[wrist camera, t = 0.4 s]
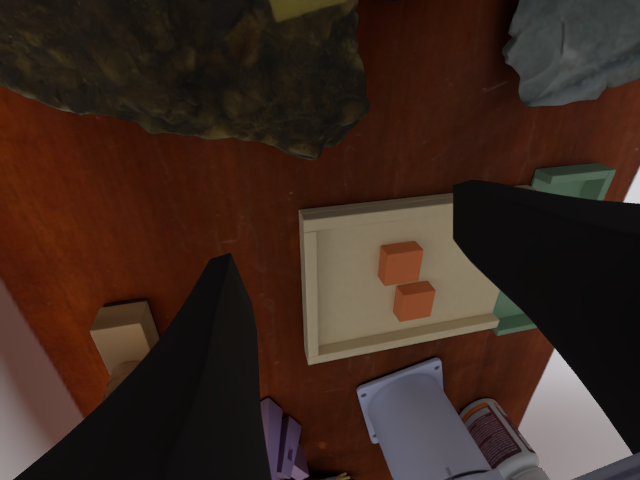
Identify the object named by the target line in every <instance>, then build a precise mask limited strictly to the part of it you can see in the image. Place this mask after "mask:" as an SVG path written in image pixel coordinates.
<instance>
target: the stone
mask: <svg viewBox="0 0 640 480" xmlns="http://www.w3.org/2000/svg"><path fill="white" fill-rule="evenodd" d="M508 34H510V35H511V36H512V38H511V39H510V40H509V41H508V42H507V43H506V45H505V46H504V48H503V50H502V54H503V55H504V57H505V63H506V64H508V65H510V66H512V67H513V68H514V69H515V71H516V72H517V73H518V74H519V76H520V83H519V89H518V92H519V96H520V99H521V102H522V103H523V104H525V105H527V106H528V107H536V106H558V105H564V104H568V103H571V102H574V101H581V100H595V99H597V98H598V97H599V96H600V94H601V93H602V92H603V91H604V90H605V88H606V87H609V88H614V87H617V86H620V85H623V84H625V83H628V82H630V81H634V80H637V79H639V78H640V0H519V3H518V7H517V10H516V12H515V14H514V16H513V18H512V21H511V24H510V27H509V31H508Z"/></svg>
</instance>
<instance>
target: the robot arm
mask: <svg viewBox="0 0 640 480" xmlns="http://www.w3.org/2000/svg"><path fill="white" fill-rule="evenodd" d="M453 240H454V241H455V243H456V244H457V245H458V247H459V248H460V249H461V251H462V252H463V253H464V254H465V256H466V257H467V258H468V259H469V261H470V262H471V263H472V264H473V265H474V266H475V267H476V268H477V269H478V270H479V271H481V272H482V273H483V274H484V275H485V276H486V277H487V278H488V279H489V280H490V281H491V282H492V283H493V284H494V285H495V286H496V287H497V288H498V289H500V290H501V291H502V292H503V293H504V294H505V295H506V296H507V297H508V298H509V299H510V300H511V301H512V302H513V303H514V304H516V305H517V306H518V307H519V308H520V309H521V310H522V311H523V312H524V313H525V314H526V315H527V316H528V317H529V318H530V319H531V321H532V322H533V323H534V324H535V325H536V326H537V328H538V329H539V330H540V331H541V332H542V333H543V335H544V336H545V337H546V338H547V339H548V340H549V342H550V343H551V344H552V345H553V346H554V347H555V349H556V350H557V351H558V352H559V354H560V355H561V356H562V357H563V359H564V360H565V361H566V362H567V364H568V365H569V366H570V367H571V369H572V370H573V371H574V372H575V374H576V375H577V376H578V377H579V379H580V380H581V381H582V383H583V384H584V385H585V387H586V388H587V390H588V391H589V392H590V394H591V395H592V396H593V398H594V399H595V400H596V402H597V403H598V404H599V406H600V407H601V408H602V409H603V411H604V413H605V414H606V416H607V417H608V418H609V420H610V421H611V423H612V424H613V426H614V427H615V429H616V430H617V431H618V433H619V434H620V436H621V437H622V439H623V440H624V442H625V443H626V445H627V446H628V447H629V449H630V451H631V452H632V454H633V455H632V456H629V457H627V458H624V459H622V460H619V461H617V462H614V463H612V464H609V465H607V466H604V467H602V468H599V469H597V470H595V471H592V472H590V473H587V474H585V475H582V476H580V477H577V478H575V479H572V480H640V204H635V203H624V202H613V201H602V200H593V199H585V198H578V197H572V196H565V195H558V194H553V193H547V192H541V191H536V190H530V189H525V188H520V187H514V186H509V185H504V184H498V183H492V182H486V181H478V180H469V181H466V182H463V183H459V184H456V185H453ZM356 391H357V395H358V398H359V401H360V405H361V408H362V412H363V415H364V419H365V422H366V425H367V429H368V432H369V436H370V439H371V442H372V443H374V444H375V443H379V444H380V447H381V449H382V452H383V454H384V457H385V460H386V462H387V465H388V467H389V470H390V473H391V475H392V478H393V480H504V479H503V477H502V475H501V474H500V472H499V471H498V469H497V468H495V469H493V470H492V468H491V467H490V465H489V464H488V462H487V460H486V459H485V457H484V456H483V454H482V452H481V451H480V449H479V448H478V446H477V444H476V443H475V441H474V439H473V438H472V436H471V435H470V433H469V431H468V430H467V428H466V427H465V425H464V423H463V422H462V420H461V419H460V417H459V415H458V414H457V412H456V410H455V409H454V407H453V406H452V404H451V402H450V401H449V399H448V398H447V396H446V394H445V393H444V391H443V377H442V362H441V360H440V359H439V358H437V357H436V358H433V359H430V360H427V361H424V362H422V363H419V364H416V365H414V366H411V367H408V368H406V369H403V370H400V371H398V372H395V373H392V374H390V375H387V376H384V377H382V378H379V379H376V380H373V381H371V382H368V383H365V384H363V385H360V386H359V387H357V389H356ZM13 480H272V478H271V472H270V465H269V459H268V453H267V447H266V440H265V434H264V427H263V421H262V414H261V403H260V386H259V364H258V344H257V330H256V324H255V318H254V313H253V308H252V303H251V301H250V298H249V296H248V293H247V291H246V289H245V286H244V284H243V281H242V279H241V277H240V274H239V272H238V270H237V267H236V265H235V262H234V260H233V258H232V255H231V253H229V254H225V255H222V256H219V257H216V258H212V259H210V261H209V262H208V264H207V266H206V267H205V269H204V271H203V273H202V274H201V276H200V278H199V280H198V281H197V283H196V285H195V286H194V288H193V290H192V292H191V293H190V295H189V297H188V298H187V300H186V301H185V303H184V305H183V306H182V308H181V309H180V311H179V312H178V313H177V315H176V316H175V318H174V319H173V321H172V322H171V324H170V325H169V327H168V328H167V330H166V331H165V332H164V334H163V335H162V336H161V338H160V339H159V340H158V341H157V343H156V344H155V345H154V347H153V348H152V349H151V350H150V351H149V353H148V354H147V355H146V356H145V357H144V359H143V360H142V361H141V362H140V363H139V364H138V365H137V367H136V368H135V369H134V370H133V371H132V372H131V373H130V374H129V375H128V376H127V377H126V378H125V379H124V380H123V381H122V382H121V384H120V385H119V386H118V387H117V388H116V389H115V390H114V391H113V392H112V393H111V394H110V395H109V396H108V397H107V398H106V399H105V400H104V401H103V402H102V403H101V404H100V405H99V406H98V407H97V408H96V409H95V410H94V411H93V412H92V413H91V414H89V415H88V416H87V417H86V418H85V419H84V420H83V421H82V422H81V423H80V424H79V425H78V426H76V427H75V428H74V429H73V430H72V431H71V432H70V433H69V434H67V436H65V437H64V438H63V439H62V440H61V441H60V442H58V443H57V444H56V445H55V446H54V447H53V448H51V449H50V450H49V451H48V452H47V453H45V454H44V455H43V456H42V457H40V458H39V459H38V460H37V461H36V462H34V463H33V464H32V465H31V466H29V467H28V468H27V469H26V470H25V471H24V472H22V473H21V474H20V475H18V476H17V477H16V478H15V479H13ZM508 480H515V479H513V478H510V479H508Z"/></svg>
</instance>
